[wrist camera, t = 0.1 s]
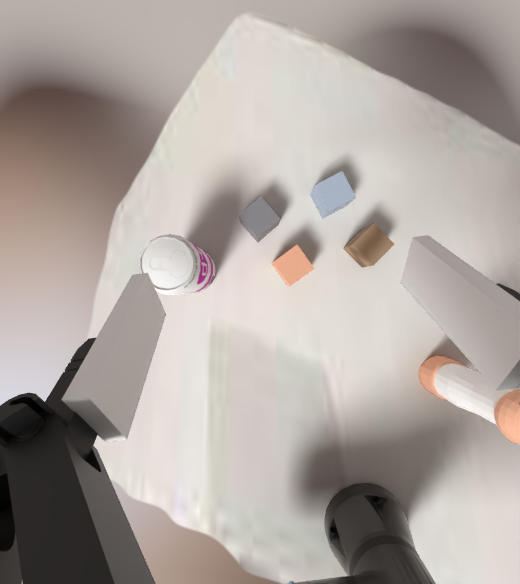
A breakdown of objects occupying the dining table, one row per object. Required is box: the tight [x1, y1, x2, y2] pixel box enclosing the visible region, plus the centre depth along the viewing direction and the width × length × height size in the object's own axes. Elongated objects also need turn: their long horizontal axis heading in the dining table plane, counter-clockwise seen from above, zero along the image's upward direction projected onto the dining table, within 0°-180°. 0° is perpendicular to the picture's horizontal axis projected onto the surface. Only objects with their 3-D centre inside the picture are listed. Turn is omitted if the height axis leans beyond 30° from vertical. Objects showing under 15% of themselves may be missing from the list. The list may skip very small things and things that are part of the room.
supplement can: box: [140, 234, 215, 295], centre depth 42 cm, size 8×8×15 cm
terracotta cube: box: [272, 245, 314, 286], centre depth 47 cm, size 5×5×5 cm
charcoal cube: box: [238, 196, 280, 242], centre depth 47 cm, size 5×5×5 cm
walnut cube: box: [343, 223, 394, 267], centre depth 47 cm, size 5×5×5 cm
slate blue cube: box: [310, 171, 356, 219], centre depth 47 cm, size 5×5×5 cm
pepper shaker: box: [419, 356, 520, 444], centre depth 40 cm, size 7×7×19 cm
